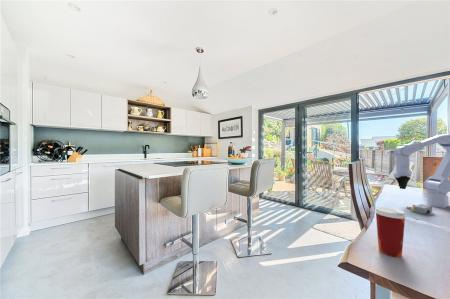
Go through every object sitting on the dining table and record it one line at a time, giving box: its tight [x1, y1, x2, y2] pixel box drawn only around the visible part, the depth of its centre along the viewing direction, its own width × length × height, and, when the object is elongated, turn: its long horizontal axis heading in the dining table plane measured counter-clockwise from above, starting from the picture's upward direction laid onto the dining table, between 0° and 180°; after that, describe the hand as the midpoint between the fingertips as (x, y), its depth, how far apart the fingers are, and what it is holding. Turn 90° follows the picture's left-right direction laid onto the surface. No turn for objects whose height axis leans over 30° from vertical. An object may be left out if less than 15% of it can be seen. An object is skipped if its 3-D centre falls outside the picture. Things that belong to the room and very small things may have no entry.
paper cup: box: [374, 206, 407, 258], centre depth 59 cm, size 8×8×14 cm
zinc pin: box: [410, 206, 434, 216], centre depth 93 cm, size 5×7×3 cm, turn 22°
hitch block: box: [413, 204, 433, 216], centre depth 93 cm, size 8×4×4 cm, turn 112°
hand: (402, 188), depth 108 cm, fingers closed
